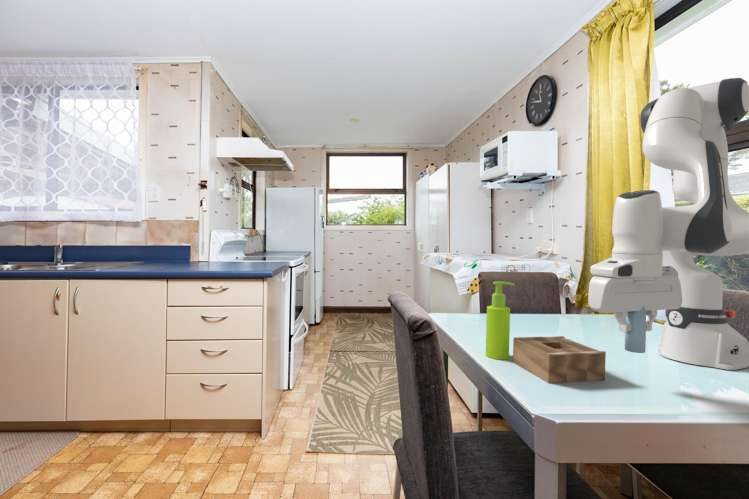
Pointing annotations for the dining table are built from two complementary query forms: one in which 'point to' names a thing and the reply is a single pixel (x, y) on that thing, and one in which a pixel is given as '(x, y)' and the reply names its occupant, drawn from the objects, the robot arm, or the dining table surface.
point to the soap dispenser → (498, 325)
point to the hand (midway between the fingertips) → (635, 331)
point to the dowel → (636, 331)
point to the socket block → (558, 359)
